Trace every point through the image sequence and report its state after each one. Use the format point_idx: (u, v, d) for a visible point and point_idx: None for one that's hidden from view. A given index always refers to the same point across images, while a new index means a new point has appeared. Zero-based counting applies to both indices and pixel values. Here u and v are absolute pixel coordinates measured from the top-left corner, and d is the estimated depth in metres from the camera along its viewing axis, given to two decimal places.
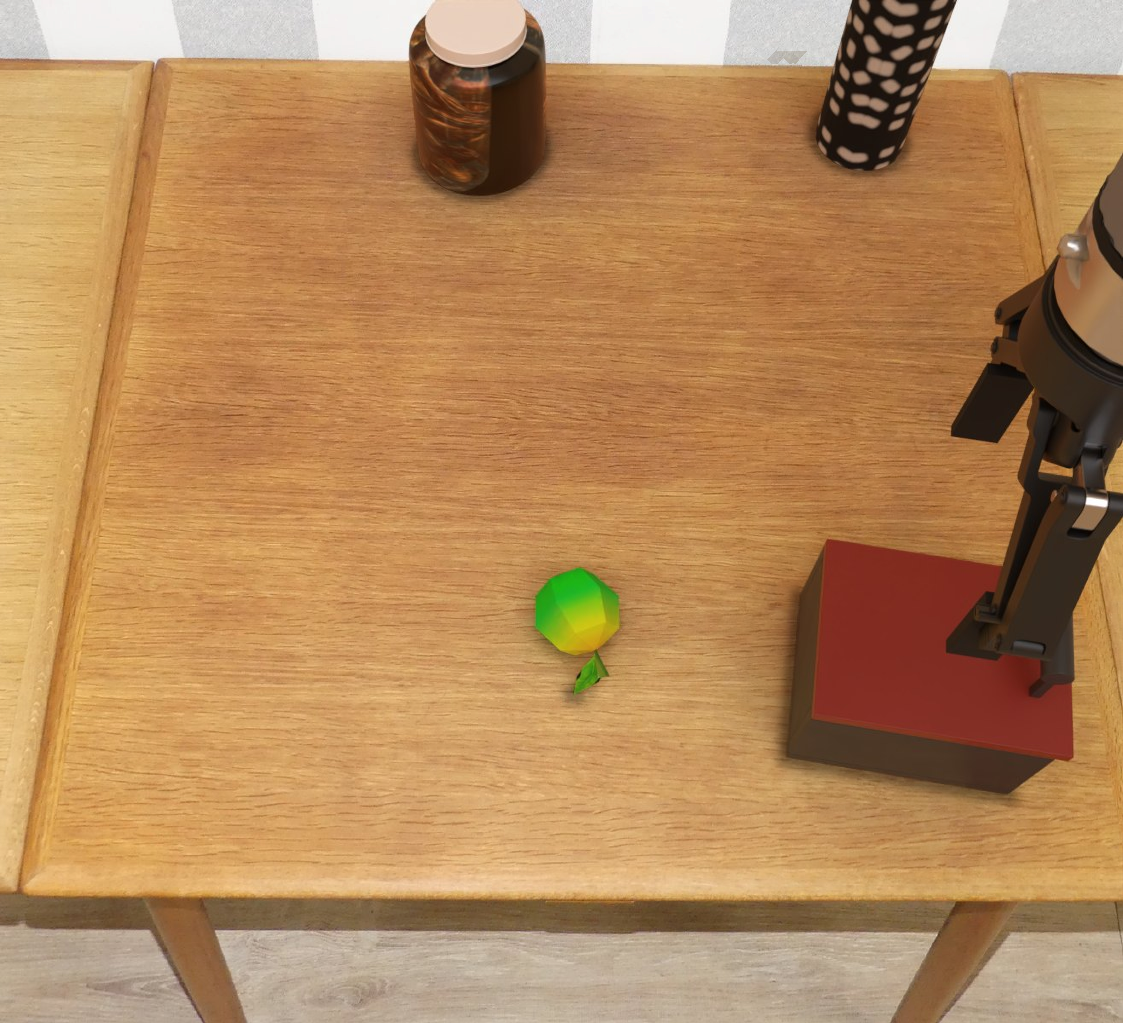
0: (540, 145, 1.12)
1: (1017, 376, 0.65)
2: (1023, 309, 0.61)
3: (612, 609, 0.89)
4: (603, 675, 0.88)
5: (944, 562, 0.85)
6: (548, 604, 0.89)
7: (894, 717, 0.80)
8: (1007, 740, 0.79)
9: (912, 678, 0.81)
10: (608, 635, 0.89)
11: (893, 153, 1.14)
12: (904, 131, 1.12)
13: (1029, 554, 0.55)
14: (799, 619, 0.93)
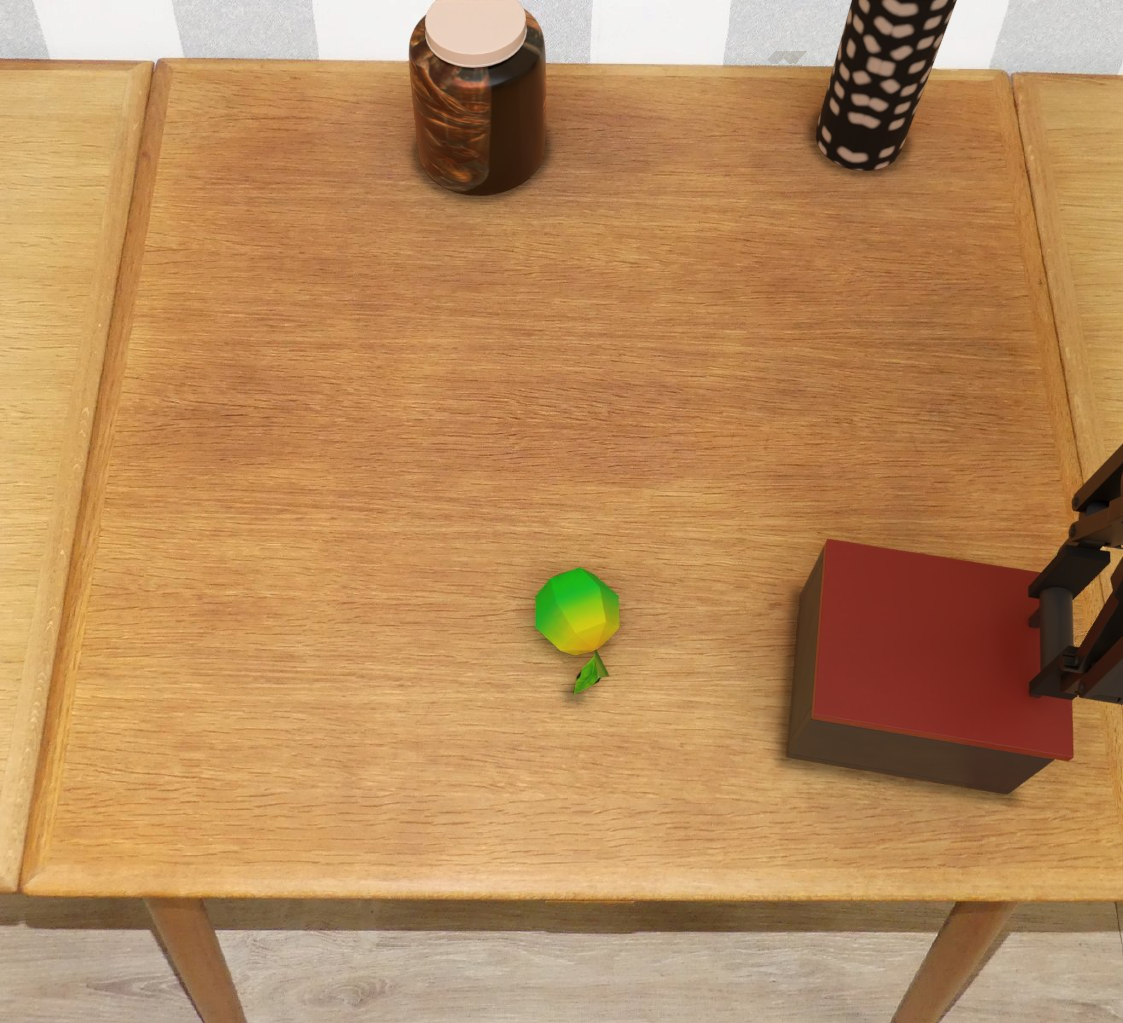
0: (540, 145, 1.12)
1: (1092, 557, 0.75)
2: (1105, 480, 0.71)
3: (612, 609, 0.89)
4: (603, 675, 0.88)
5: (944, 562, 0.85)
6: (548, 604, 0.89)
7: (894, 717, 0.80)
8: (1007, 740, 0.79)
9: (912, 678, 0.81)
10: (608, 635, 0.89)
11: (893, 153, 1.14)
12: (904, 131, 1.12)
13: (1116, 645, 0.66)
14: (799, 619, 0.93)
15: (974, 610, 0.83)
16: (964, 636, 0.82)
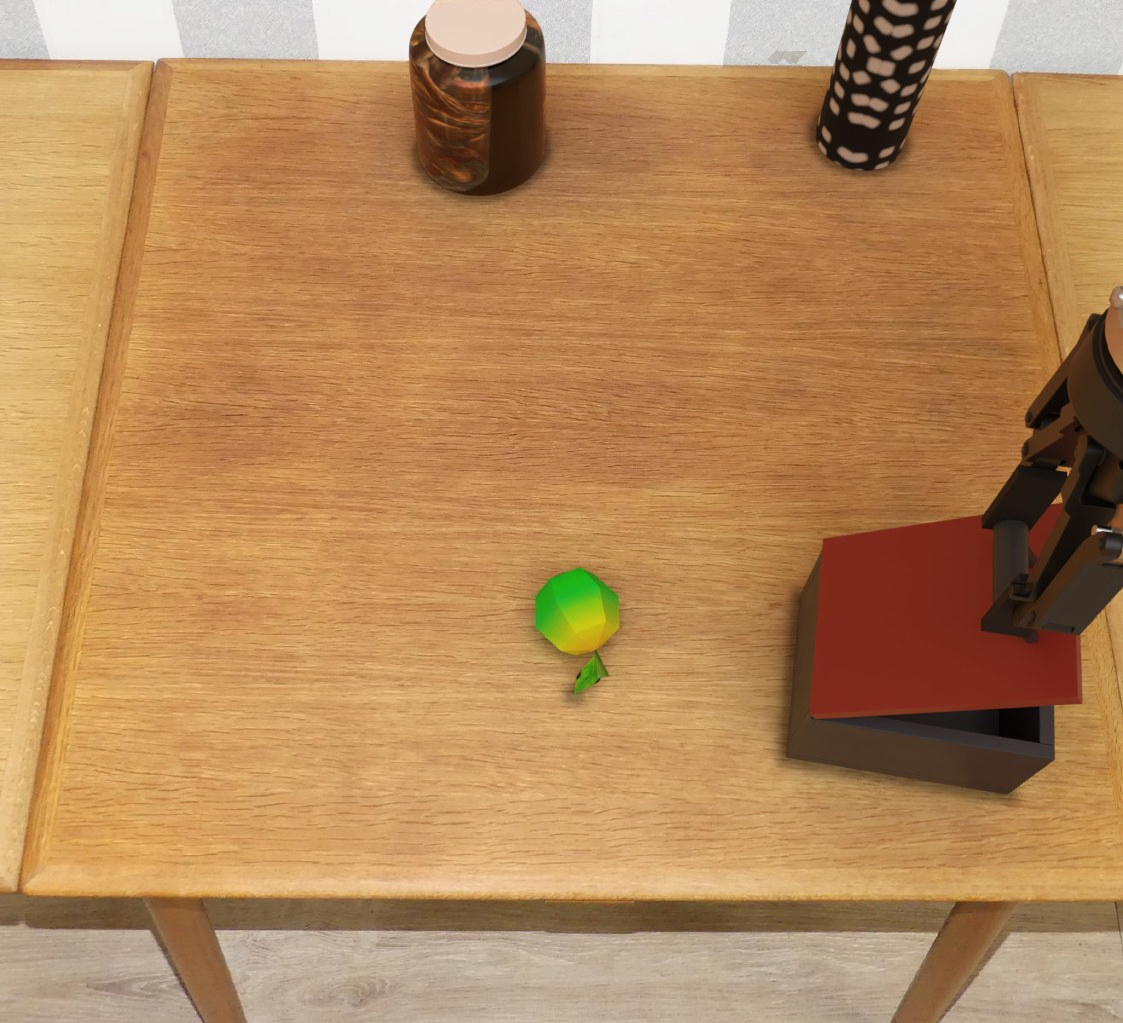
0: (540, 145, 1.12)
1: (1047, 478, 0.68)
2: (1058, 389, 0.64)
3: (612, 609, 0.89)
4: (603, 675, 0.88)
5: (936, 527, 0.81)
6: (548, 604, 0.89)
7: (885, 699, 0.77)
8: (1002, 695, 0.73)
9: (903, 654, 0.78)
10: (608, 635, 0.89)
11: (893, 153, 1.14)
12: (904, 131, 1.12)
13: (1067, 564, 0.59)
14: (799, 619, 0.93)
15: (968, 567, 0.78)
16: (957, 597, 0.78)
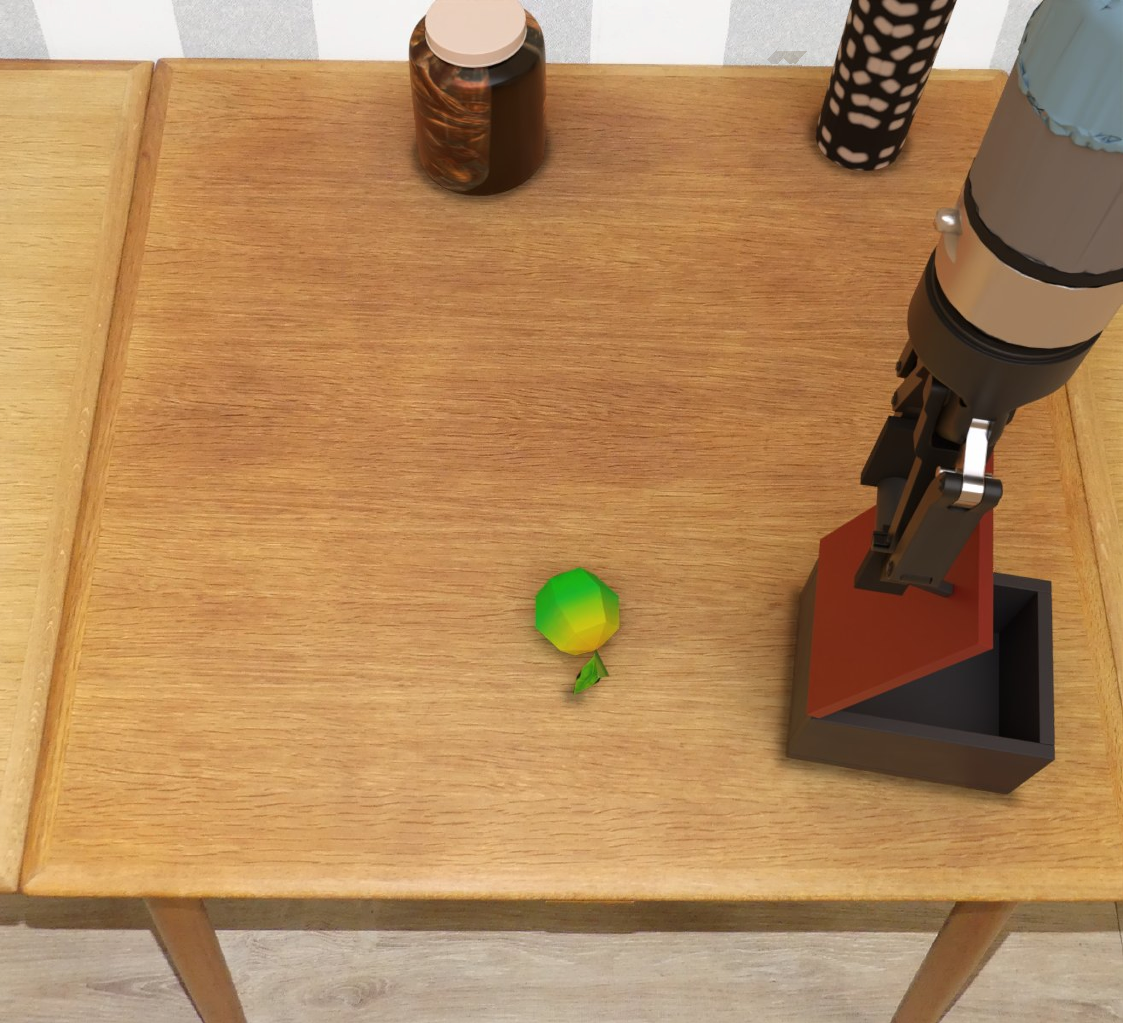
0: (540, 145, 1.12)
1: None
2: None
3: (612, 609, 0.89)
4: (603, 675, 0.88)
5: None
6: (548, 604, 0.89)
7: (852, 685, 0.76)
8: (928, 657, 0.70)
9: (865, 636, 0.76)
10: (608, 635, 0.89)
11: (893, 153, 1.14)
12: (904, 131, 1.12)
13: (917, 510, 0.57)
14: (799, 619, 0.93)
15: None
16: None
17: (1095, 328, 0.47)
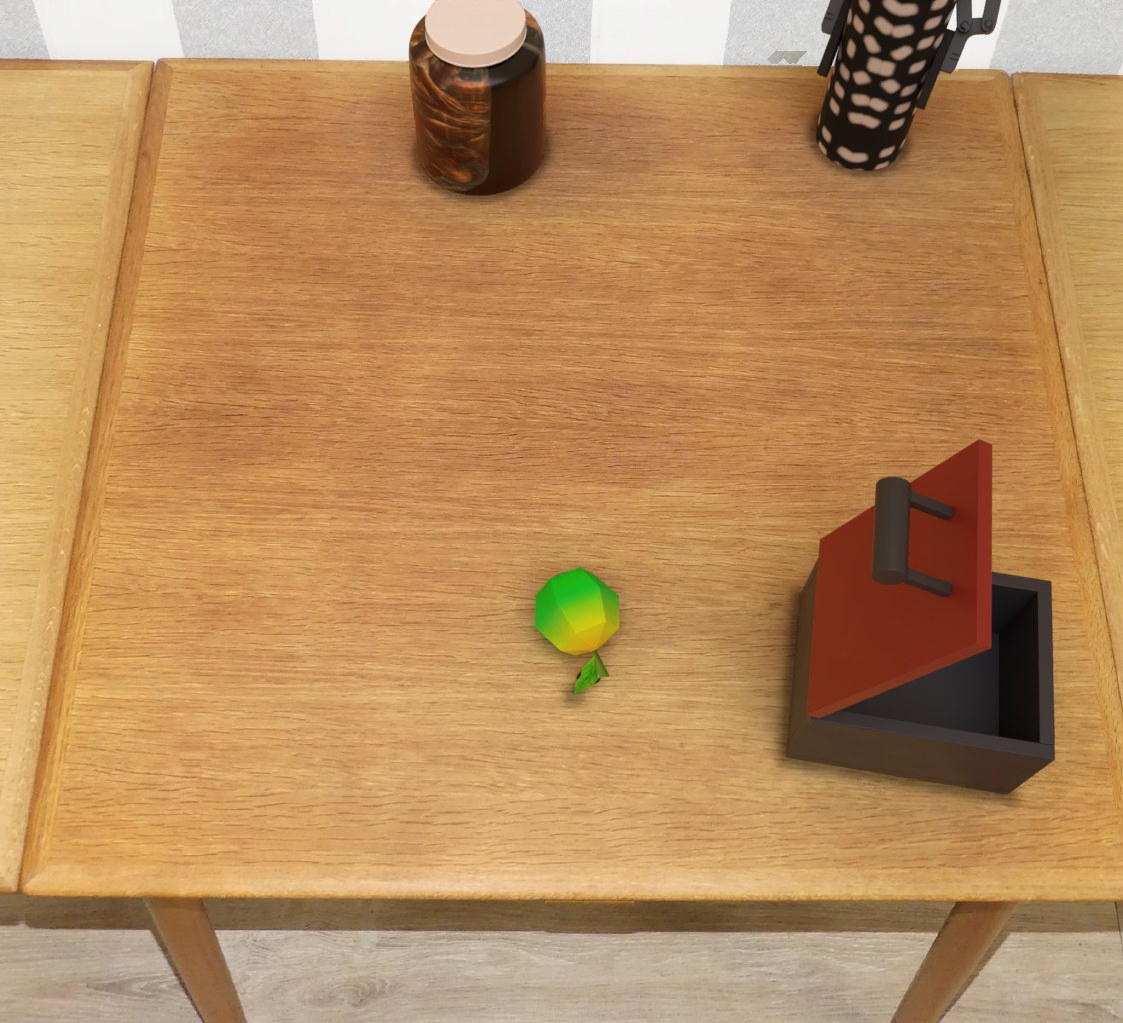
0: (540, 145, 1.12)
1: None
2: None
3: (612, 609, 0.89)
4: (603, 675, 0.88)
5: None
6: (548, 604, 0.89)
7: (852, 684, 0.76)
8: (926, 657, 0.70)
9: (865, 636, 0.76)
10: (608, 635, 0.89)
11: (893, 152, 1.14)
12: (904, 131, 1.12)
13: None
14: (799, 619, 0.93)
15: (908, 533, 0.76)
16: None
17: None
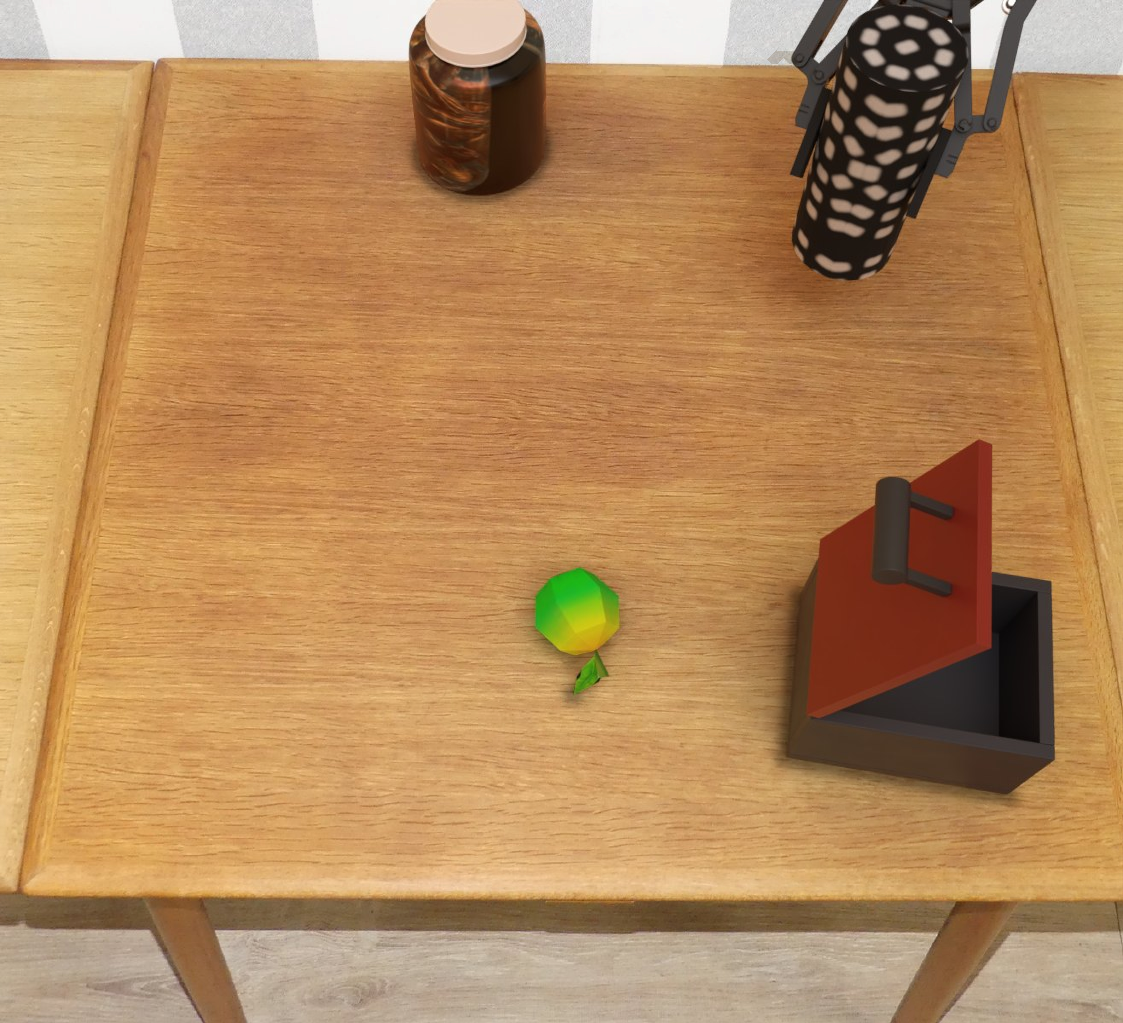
0: (540, 145, 1.12)
1: None
2: None
3: (612, 609, 0.89)
4: (603, 675, 0.88)
5: None
6: (548, 604, 0.89)
7: (852, 684, 0.76)
8: (926, 657, 0.70)
9: (865, 636, 0.76)
10: (608, 635, 0.89)
11: (880, 261, 0.98)
12: (893, 238, 0.96)
13: None
14: (799, 619, 0.93)
15: (908, 533, 0.76)
16: None
17: None
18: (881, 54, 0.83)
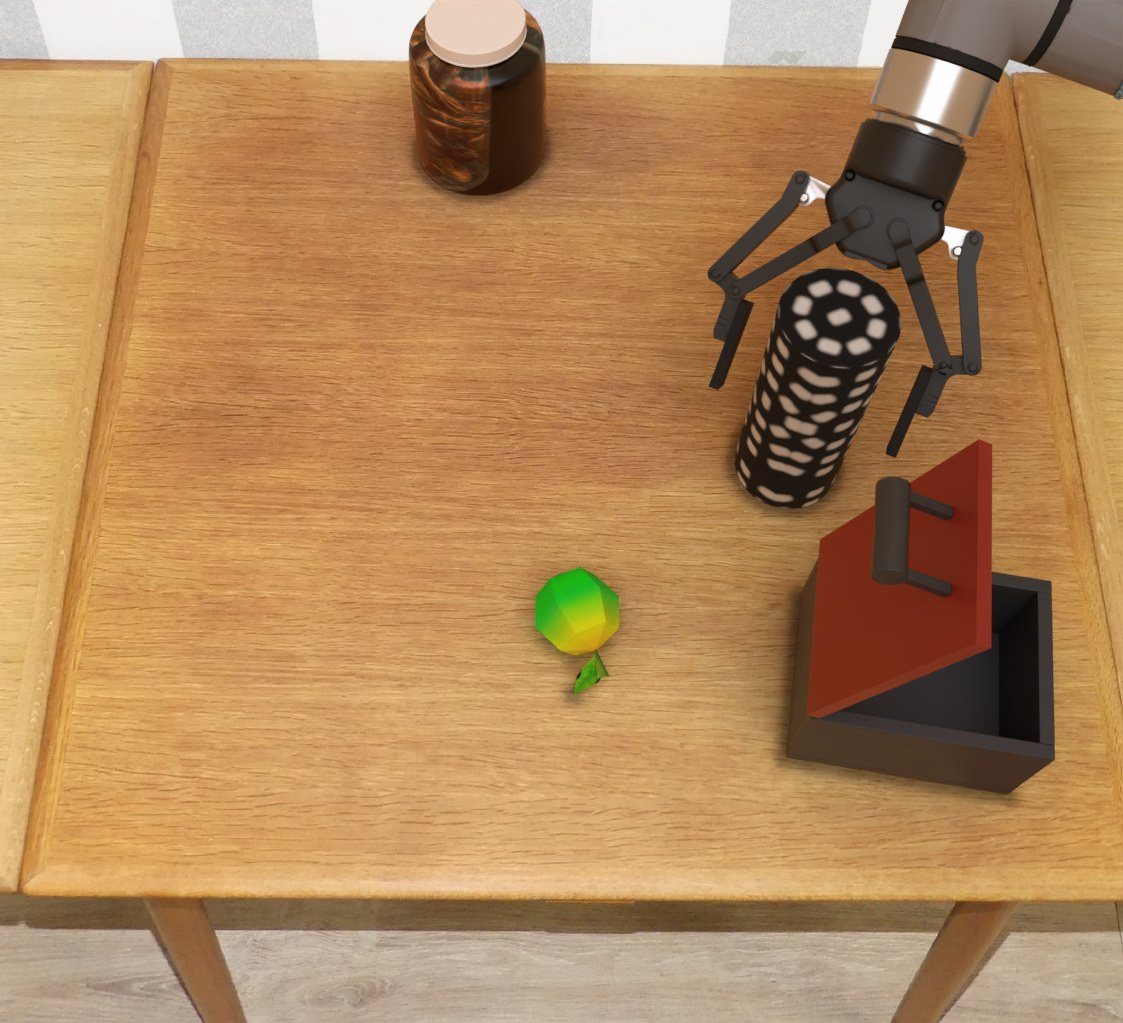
0: (540, 145, 1.12)
1: (923, 368, 0.86)
2: None
3: (612, 609, 0.89)
4: (603, 675, 0.88)
5: None
6: (548, 604, 0.89)
7: (852, 684, 0.76)
8: (926, 657, 0.70)
9: (865, 636, 0.76)
10: (608, 635, 0.89)
11: (823, 491, 0.97)
12: (835, 472, 0.95)
13: None
14: (799, 619, 0.93)
15: (908, 533, 0.76)
16: None
17: (882, 94, 0.81)
18: (813, 325, 0.82)
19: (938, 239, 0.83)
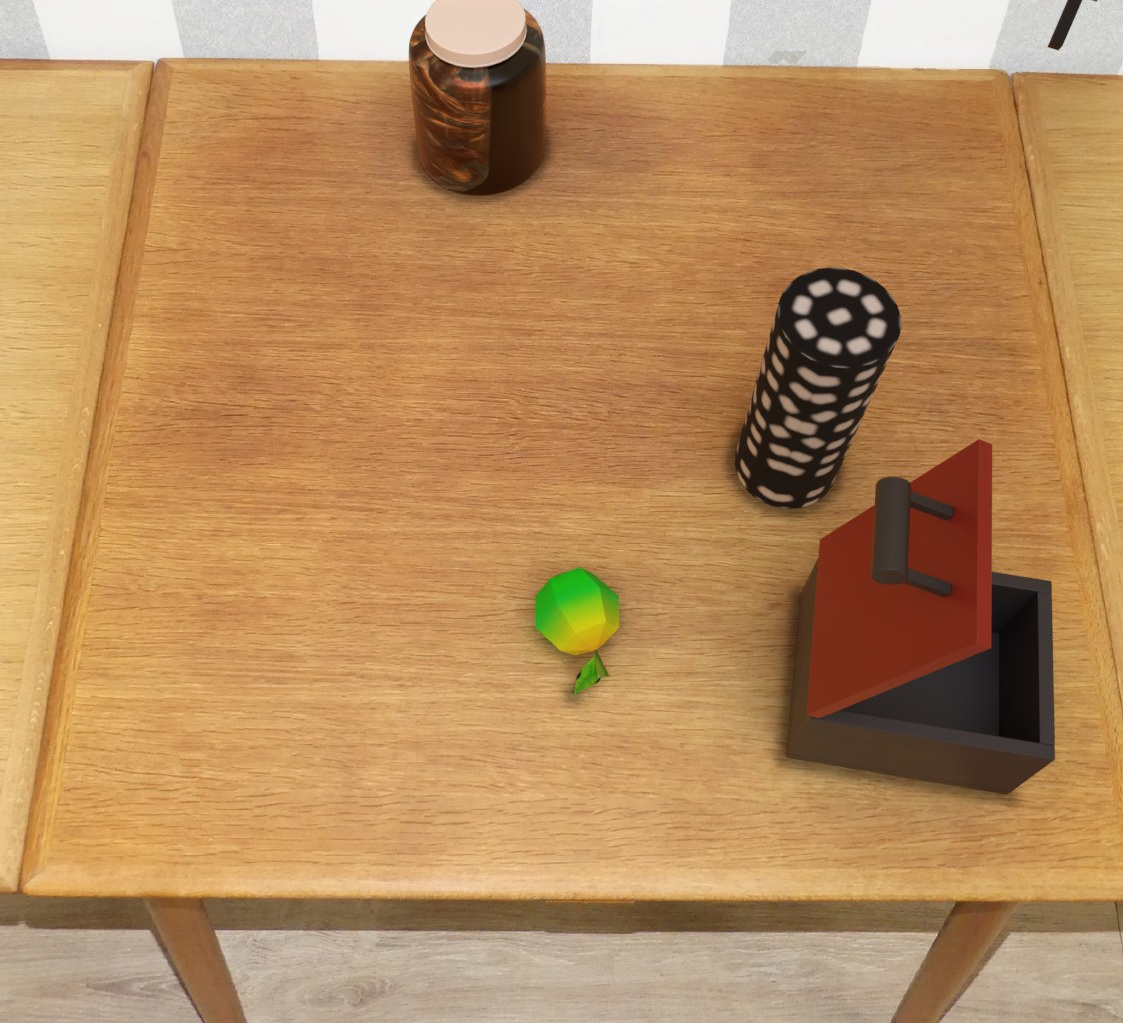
0: (540, 145, 1.12)
1: None
2: None
3: (612, 609, 0.89)
4: (603, 675, 0.88)
5: None
6: (548, 604, 0.89)
7: (852, 684, 0.76)
8: (926, 657, 0.70)
9: (865, 636, 0.76)
10: (608, 635, 0.89)
11: (823, 491, 0.97)
12: (835, 472, 0.95)
13: None
14: (799, 619, 0.93)
15: (908, 533, 0.76)
16: None
17: None
18: (813, 324, 0.82)
19: None
